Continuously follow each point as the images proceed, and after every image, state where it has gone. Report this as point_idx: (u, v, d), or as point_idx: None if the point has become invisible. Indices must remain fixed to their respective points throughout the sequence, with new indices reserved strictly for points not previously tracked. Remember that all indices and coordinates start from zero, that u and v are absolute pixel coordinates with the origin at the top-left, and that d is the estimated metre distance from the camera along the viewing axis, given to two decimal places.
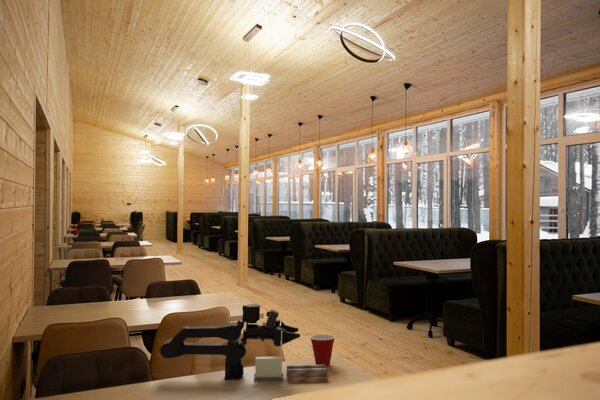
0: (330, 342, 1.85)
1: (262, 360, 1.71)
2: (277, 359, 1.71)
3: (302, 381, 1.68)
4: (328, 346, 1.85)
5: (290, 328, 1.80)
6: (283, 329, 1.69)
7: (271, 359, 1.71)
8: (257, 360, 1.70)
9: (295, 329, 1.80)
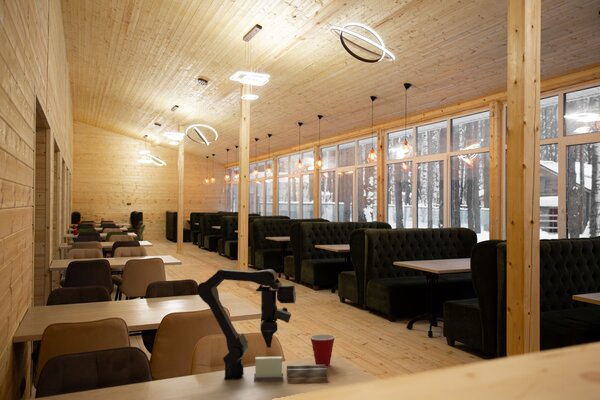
0: (330, 342, 1.85)
1: (262, 360, 1.71)
2: (277, 359, 1.71)
3: (302, 381, 1.68)
4: (328, 346, 1.85)
5: None
6: None
7: (271, 359, 1.71)
8: (257, 360, 1.70)
9: None
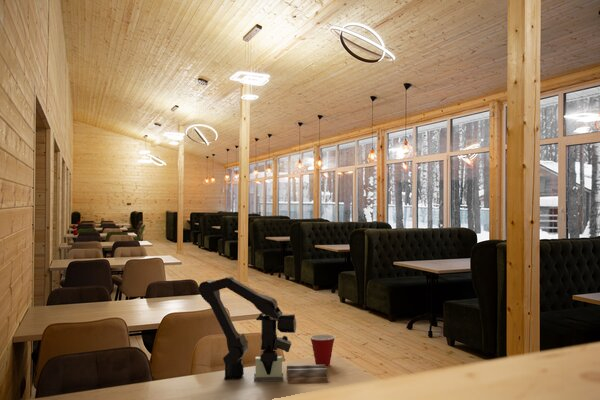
0: (330, 342, 1.85)
1: None
2: (277, 359, 1.71)
3: (302, 381, 1.68)
4: (328, 346, 1.85)
5: None
6: None
7: None
8: (257, 360, 1.70)
9: None
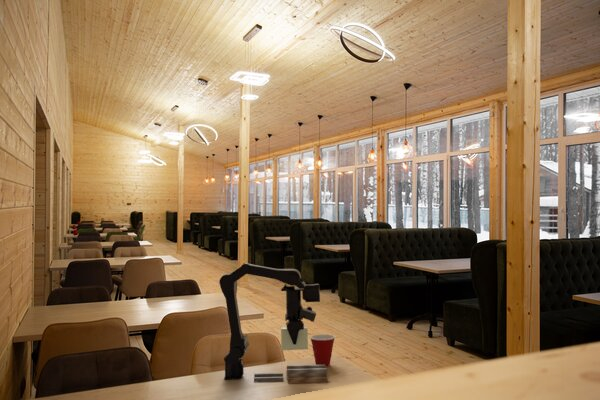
0: (330, 342, 1.85)
1: None
2: (303, 329, 1.72)
3: (302, 381, 1.68)
4: (328, 346, 1.85)
5: None
6: None
7: None
8: (283, 330, 1.72)
9: None
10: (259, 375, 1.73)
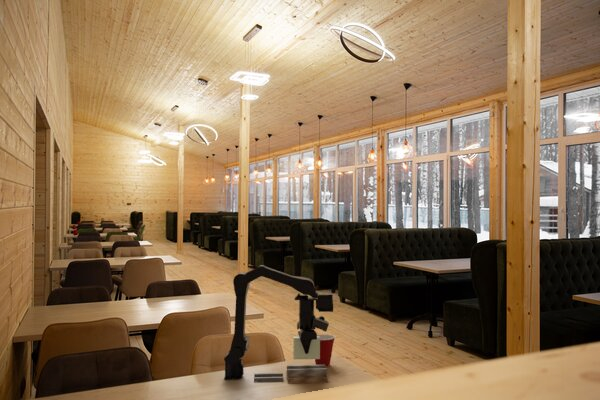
0: (330, 342, 1.85)
1: None
2: None
3: (302, 381, 1.68)
4: (328, 346, 1.85)
5: None
6: None
7: None
8: (295, 339, 1.72)
9: None
10: (259, 375, 1.73)
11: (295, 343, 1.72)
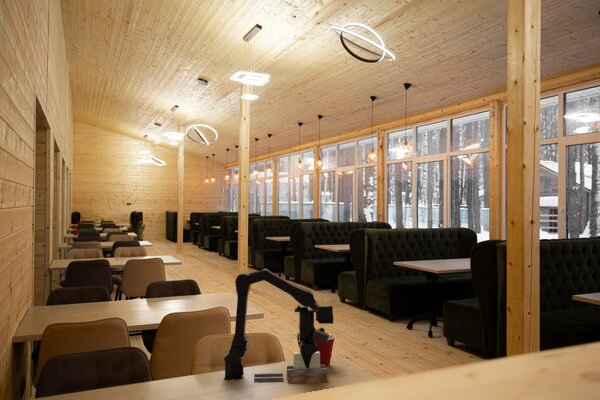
0: (330, 342, 1.85)
1: (300, 355, 1.72)
2: (315, 354, 1.72)
3: (302, 381, 1.68)
4: (328, 346, 1.85)
5: None
6: (315, 352, 1.67)
7: None
8: (295, 355, 1.72)
9: None
10: (259, 375, 1.73)
11: (295, 359, 1.71)
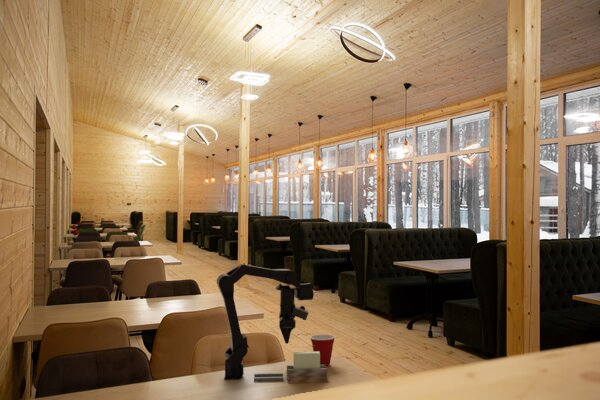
0: (330, 342, 1.85)
1: (300, 355, 1.72)
2: (315, 354, 1.72)
3: (302, 381, 1.68)
4: (328, 346, 1.85)
5: None
6: None
7: (309, 354, 1.72)
8: (295, 355, 1.72)
9: None
10: (259, 375, 1.73)
11: (295, 359, 1.71)
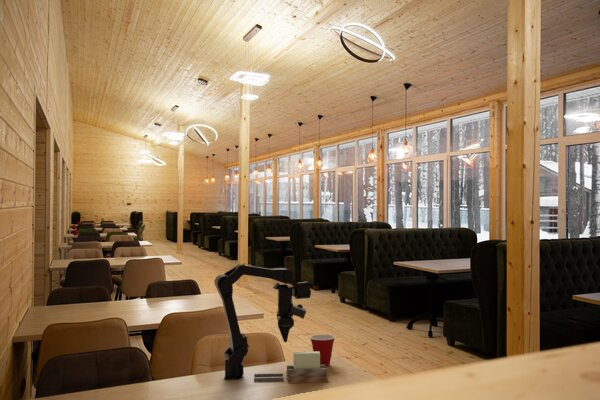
0: (330, 342, 1.85)
1: (300, 355, 1.72)
2: (315, 354, 1.72)
3: (302, 381, 1.68)
4: (328, 346, 1.85)
5: None
6: (292, 326, 1.75)
7: (309, 354, 1.72)
8: (295, 355, 1.72)
9: None
10: (259, 375, 1.73)
11: (295, 359, 1.71)
